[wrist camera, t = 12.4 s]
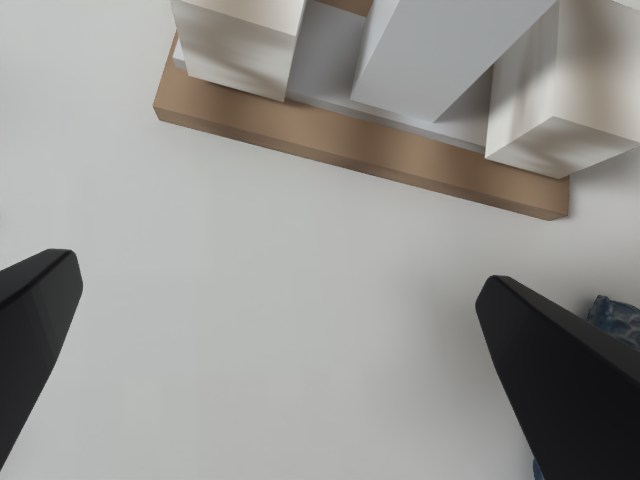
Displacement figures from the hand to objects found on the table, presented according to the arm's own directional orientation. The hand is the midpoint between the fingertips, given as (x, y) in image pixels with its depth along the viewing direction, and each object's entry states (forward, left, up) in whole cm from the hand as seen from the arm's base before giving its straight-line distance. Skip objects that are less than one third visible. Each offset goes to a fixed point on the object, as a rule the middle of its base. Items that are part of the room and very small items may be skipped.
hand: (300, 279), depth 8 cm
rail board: (+3, -14, -12) cm, 19 cm away
